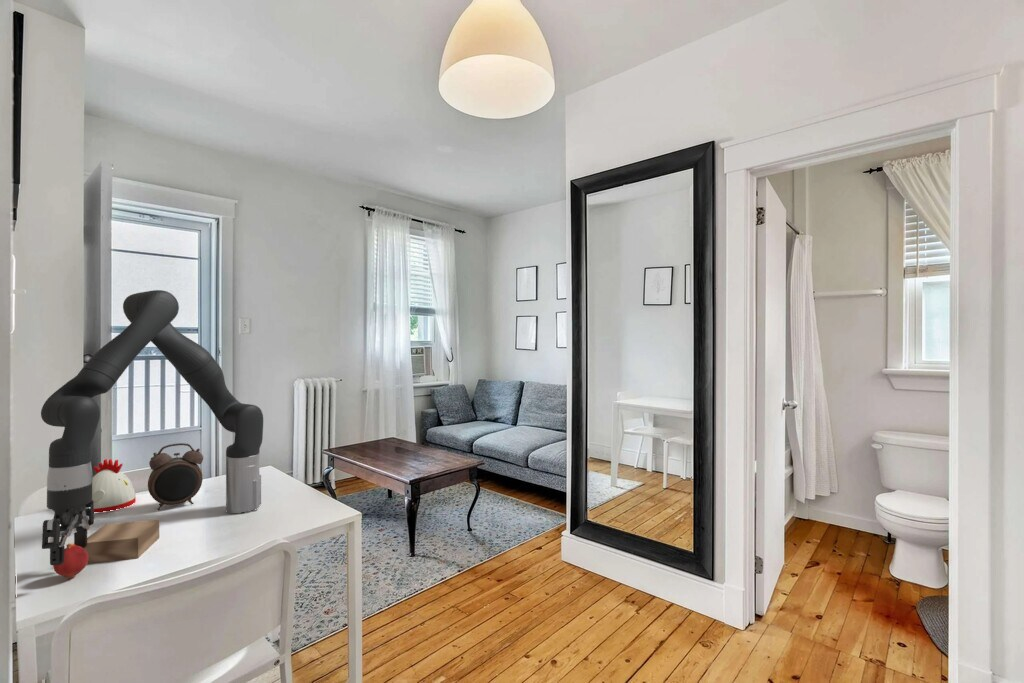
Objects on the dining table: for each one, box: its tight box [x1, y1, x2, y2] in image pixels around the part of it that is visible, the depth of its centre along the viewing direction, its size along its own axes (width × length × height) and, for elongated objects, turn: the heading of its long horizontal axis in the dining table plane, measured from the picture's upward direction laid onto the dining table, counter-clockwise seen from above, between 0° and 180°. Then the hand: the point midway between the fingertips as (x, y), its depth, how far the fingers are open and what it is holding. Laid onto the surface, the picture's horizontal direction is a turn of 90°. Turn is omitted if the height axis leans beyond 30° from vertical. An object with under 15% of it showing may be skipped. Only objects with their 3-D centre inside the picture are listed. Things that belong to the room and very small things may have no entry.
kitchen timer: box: [92, 458, 137, 512], centre depth 152 cm, size 14×14×15 cm
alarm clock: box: [147, 442, 204, 511], centre depth 152 cm, size 15×7×20 cm, turn 129°
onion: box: [52, 542, 89, 579], centre depth 107 cm, size 6×6×8 cm
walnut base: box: [84, 519, 160, 564], centre depth 121 cm, size 12×12×5 cm
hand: (69, 555), depth 107 cm, fingers open, 8 cm apart
